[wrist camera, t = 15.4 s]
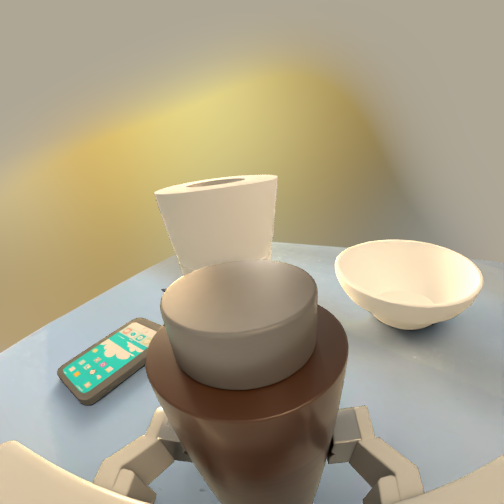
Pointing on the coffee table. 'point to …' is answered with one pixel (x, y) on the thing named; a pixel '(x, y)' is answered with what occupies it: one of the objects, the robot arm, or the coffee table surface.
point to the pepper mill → (250, 378)
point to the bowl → (408, 281)
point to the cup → (219, 219)
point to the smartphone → (108, 361)
